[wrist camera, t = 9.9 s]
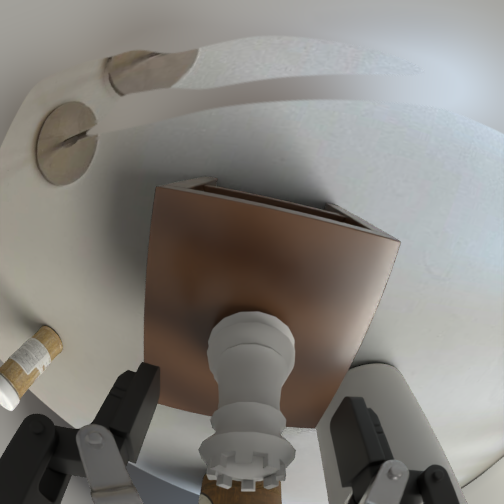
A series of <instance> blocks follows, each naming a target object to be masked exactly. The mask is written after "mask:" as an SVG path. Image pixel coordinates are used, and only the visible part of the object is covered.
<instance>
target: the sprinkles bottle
mask: <svg viewBox="0 0 504 504" xmlns="http://www.w3.org/2000/svg"><path fill="white" fill-rule="evenodd" d="M62 348H63V345H62V342H61V339H60V338H59V336H58V335H57V334H56V333H55V332H54V330H52V329H51V328H49V327H47V326H42V327H41V328H40V329H39V331H38V332H37V333H35V334H34V335H33V336H32V337H31V338H29V339H28V340H27V341H26V342H25V343H24V344H23V345H22V346H21V347H20V348H19V349H18V350H17V351H15V352H14V353H13V354H12V355H11V356H10V357H9V358H8V360H7V361H6V362H5V363H4V364H3V365H2V366H1V367H0V404H1V405H2V406H3V407H4V408H6V409H7V410H10V411H12V410H14V408H15V407H16V406H17V405H18V403H19V400H20V398H21V397H22V396H23V394H24V393H25V392H26V391H27V389H28V388H29V387H30V386H31V385H32V384H33V383H34V382H35V381H36V379H37V378H38V377H39V376H40V375H41V374H42V372H43V371H44V370H45V369H46V368H47V367H48V366H49V365H50V363H51V361H52V360H53V359H54V358H55V357H56V356H57V355H58V354H59V353H61V351H62Z"/></svg>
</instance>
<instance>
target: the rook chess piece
mask: <svg viewBox="0 0 504 504" xmlns="http://www.w3.org/2000/svg"><path fill="white" fill-rule="evenodd" d="M294 344H295V340H294V337H293V335H292V333H291V331H290V329H289V327H288V326H287V325H285V324H284V323H283V322H282V321H280V320H279V319H278V318H277V317H275V316H271V315H268V314H265V313H262V312H259V311H256V312H239V313H236V314H233V315H231V316H228V317H226V318H224V319H223V320H221V321H220V322H219V323H218V324H217V325H216V326H215V327H214V328H213V329H212V332H211V335H210V338H209V341H208V345H209V347H208V350H207V356H208V362H209V368H210V371H211V372H212V373H213V375H214V379H215V380H216V382H217V383H218V390H219V404H218V410H216V411H215V412H214V414H213V416H212V418H211V424H212V428H213V429H214V430H215V431H216V432H215V434H213V435H212V436H210V437H209V438H207V439H206V440H204V441H203V442H202V444H201V446H200V448H199V453H200V455H201V458H202V459H203V461H204V462H205V463H206V465H207V472H206V475H207V477H208V479H209V480H217V483H216V485H217V486H220V487H223V488H226V489H229V488H231V487H232V480H236V481H242V484H241V491H255V482H256V481H262V480H264V488H266V489H271V488H274V487H277V486H279V481H285V477H286V470H285V469H286V468H287V467H288V465H289V464H290V463H291V462H292V461H293V460H294V458H295V451H296V450H295V449H294V448H293V446H292V445H291V444H290V442H288V441H287V440H286V439H285V438H283V437H282V436H281V433H282V432H283V430H284V429H285V428H286V419H285V417H284V416H283V414H282V413H281V411H280V405H279V404H280V396H281V388H282V386H283V384H284V383H285V381H286V380H287V378H288V376H289V374H290V373H291V371H292V369H293V367H294V363H295V349H294Z"/></svg>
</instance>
